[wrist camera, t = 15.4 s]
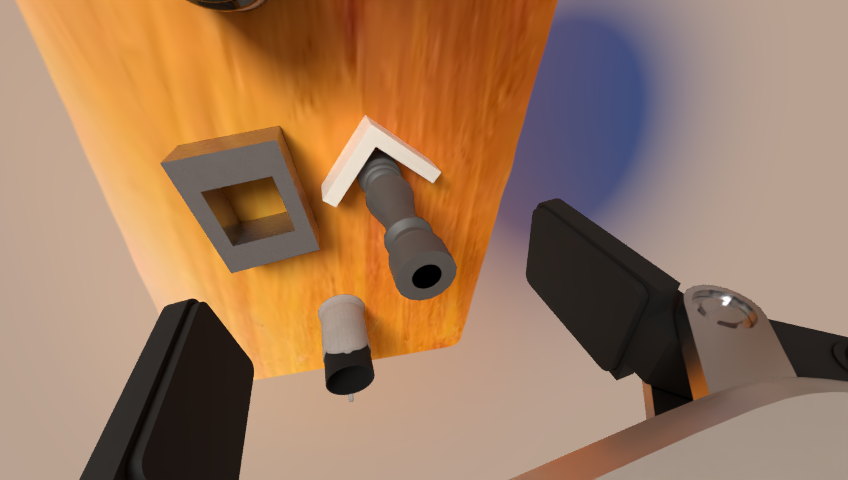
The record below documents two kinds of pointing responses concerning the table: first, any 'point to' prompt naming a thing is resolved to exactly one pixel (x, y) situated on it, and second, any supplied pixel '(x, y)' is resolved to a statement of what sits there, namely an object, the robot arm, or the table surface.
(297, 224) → the gray hollow block
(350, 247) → the table surface
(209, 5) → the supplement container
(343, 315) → the glass holder
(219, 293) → the table surface
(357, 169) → the angle bracket
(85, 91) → the table surface
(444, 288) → the candle holder
